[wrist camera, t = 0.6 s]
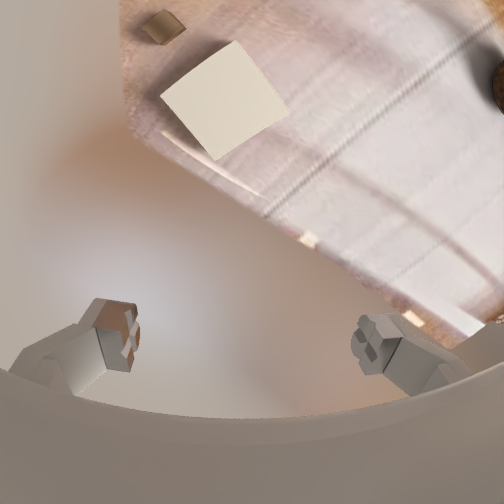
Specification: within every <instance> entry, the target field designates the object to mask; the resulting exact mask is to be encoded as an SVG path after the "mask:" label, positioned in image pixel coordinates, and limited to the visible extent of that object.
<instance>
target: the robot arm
mask: <svg viewBox="0 0 504 504" xmlns="http://www.w3.org/2000/svg"><path fill="white" fill-rule="evenodd" d="M137 315H138V312H137V306H136V304H134V303H127V302H120V301H113V300H107V299H100V298H96V299H94V300H93V302H92V303H91V305H90V306H89V308H88V309H87V311H86V312H85V314H84V315H83V317H82V318H81V320H80V321H79V323H78V324H72V325H70V326H68V327H66V328H64V329H62V330H60V331H58V332H56V333H54V334H52V335H50V336H48V337H46V338H44V339H42V340H40V341H38V342H36V343H34V344H32V345H30V346H28V347H26V348H24V349H23V350H22V351H21V353H20V354H19V356H18V357H17V359H16V360H15V362H14V363H13V365H12V366H11V368H10V369H9V371H8V372H7V371H5V370H3V369H1V368H0V504H504V361H503V362H501V363H499V364H497V365H495V366H493V367H491V368H489V369H486V370H484V371H482V372H480V373H477V374H475V375H474V374H473V373H472V372H471V371H470V369H469V368H468V367H467V366H466V364H465V363H464V362H463V361H462V360H461V359H460V358H459V357H457V356H455V355H453V354H451V353H450V352H448V351H446V350H444V349H442V348H440V347H438V346H436V345H434V344H433V343H431V342H429V341H427V340H425V339H423V338H421V337H419V336H414V334H413V333H412V332H411V331H410V330H409V328H408V327H407V326H406V325H405V323H404V322H403V321H402V320H401V319H400V318H399V317H398V315H397V314H395V313H385V314H371V315H362V316H361V317H360V318H359V321H358V323H357V324H358V327H359V328H358V329H357V331H355V332H354V334H353V336H352V339H351V349H352V352H353V354H354V356H356V357H357V358H359V359H360V361H359V365H360V367H361V369H362V371H363V372H364V374H365V375H373V374H381V373H383V375H385V376H386V377H387V378H388V379H389V380H390V381H392V382H393V383H394V384H395V385H397V386H398V387H399V388H401V389H402V390H403V391H404V392H405V393H407V394H408V395H409V396H410V397H407V398H404V399H400V400H396V401H392V402H388V403H383V404H379V405H374V406H369V407H365V408H359V409H353V410H347V411H341V412H334V413H327V414H319V415H310V416H299V417H286V418H267V419H221V418H202V417H189V416H178V415H168V414H161V413H153V412H147V411H140V410H135V409H129V408H124V407H119V406H113V405H109V404H105V403H100V402H96V401H92V400H88V399H84V398H81V397H77V395H78V394H80V393H81V392H82V391H83V390H84V389H85V388H87V387H88V386H89V385H90V384H91V383H93V382H94V381H95V380H96V379H97V378H98V377H100V376H101V375H102V374H103V373H104V372H105V371H107V369H111V370H117V371H123V372H130V371H131V367H132V364H133V361H134V355H133V352H135V351H136V350H137V349H138V346H139V339H140V327H139V324H138V323H137V321H136V317H137Z"/></svg>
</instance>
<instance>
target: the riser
mask: <svg viewBox="0 0 504 504" xmlns="http://www.w3.org/2000/svg"><path fill="white" fill-rule="evenodd" d="M160 97H161V98H162V99H163V100H164V101H165V102H166V104H167V105H168V106H169V107H170V108H171V109H172V111H173V112H174V113H175V114H176V115H177V116H178V118H179V119H180V120H181V121H182V122H183V123H184V125H185V126H186V127H187V128H188V129H189V130H190V132H191V133H192V134H193V135H194V136H195V138H196V139H197V140H198V141H199V142H200V144H201V145H202V146H203V147H204V148H205V150H206V151H207V152H208V153H209V154H210V156H211V157H212V158H213V159H214V161H216V160H218V159H219V158H220V157H222V156H223V155H225V154H226V153H228V152H229V151H231V150H232V149H234V148H235V147H237V146H238V145H240V144H241V143H243V142H244V141H246V140H247V139H249V138H251V137H252V136H254V135H255V134H257V133H258V132H260V131H262V130H263V129H265V128H266V127H268V126H270V125H271V124H273V123H275V122H276V121H278V120H280V119H281V118H283V117H285V116H286V115H288V114H290V111H289V110H288V108H287V107H286V105H285V104H284V103H283V101H282V100H281V98H280V97H279V95H278V94H277V93H276V91H275V90H274V88H273V87H272V86H271V84H270V83H269V81H268V80H267V79H266V77H265V76H264V75H263V73H262V72H261V71H260V69H259V68H258V67H257V65H256V64H255V63H254V62H253V60H252V59H251V58H250V57H249V55H248V54H247V53H246V52H245V50H244V49H243V48H242V47H241V45H240V44H239V43H238V42H237V41H236V40H235V41H233V42H232V43H230V44H228V45H227V46H225V47H224V48H222V49H221V50H219V51H218V52H216V53H215V54H213V55H212V56H210V57H209V58H208V59H206V60H205V61H203V62H202V63H201V64H199V65H198V66H196V67H195V68H194V69H192V70H191V71H190V72H188V73H187V74H186V75H185V76H183V77H182V78H181V79H180V80H178V81H177V82H176V83H175V84H173V85H172V86H171V87H170V88H168V89H167V90H166V91H165V92H164V93H163V94H161V95H160Z"/></svg>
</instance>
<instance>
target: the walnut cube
mask: <svg viewBox="0 0 504 504" xmlns="http://www.w3.org/2000/svg"><path fill="white" fill-rule="evenodd" d="M142 28H143V29H144V30H145V31H146V32H147V33H148V34H149V35H150V36H151V37H152V38H153V40H154V41H155V42H156V43H157V44H162V45H166V44H168V43H169V42H170V41H171V40H173V39H174V38H175V37H177V36H178V35H179V34H181V33H182V32H183V31H185V30H186V28H185V27H184V26H183V25H182V24H181V22H180V21H179V20H178V19H177V18H176V17H175V16H174V15H173V14H172V13H170V12H169V11H167V10H165V9H163V10H162V11H160V12H159V13H158V14H157V15H155V16H154V17H153V18H152V19H150V20H149V21H148V22H147V23H146V24H144V25H143V26H142Z"/></svg>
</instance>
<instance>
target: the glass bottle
mask: <svg viewBox="0 0 504 504" xmlns="http://www.w3.org/2000/svg"><path fill="white" fill-rule="evenodd" d="M493 92H494V97H495V99H496V102H497V104H498V106H499V108H500V110H501V112H502V113H503V114H504V61H503V62H502V63H500V64H499V65H498V67H497V68H496V70H495V72H494V76H493Z"/></svg>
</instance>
